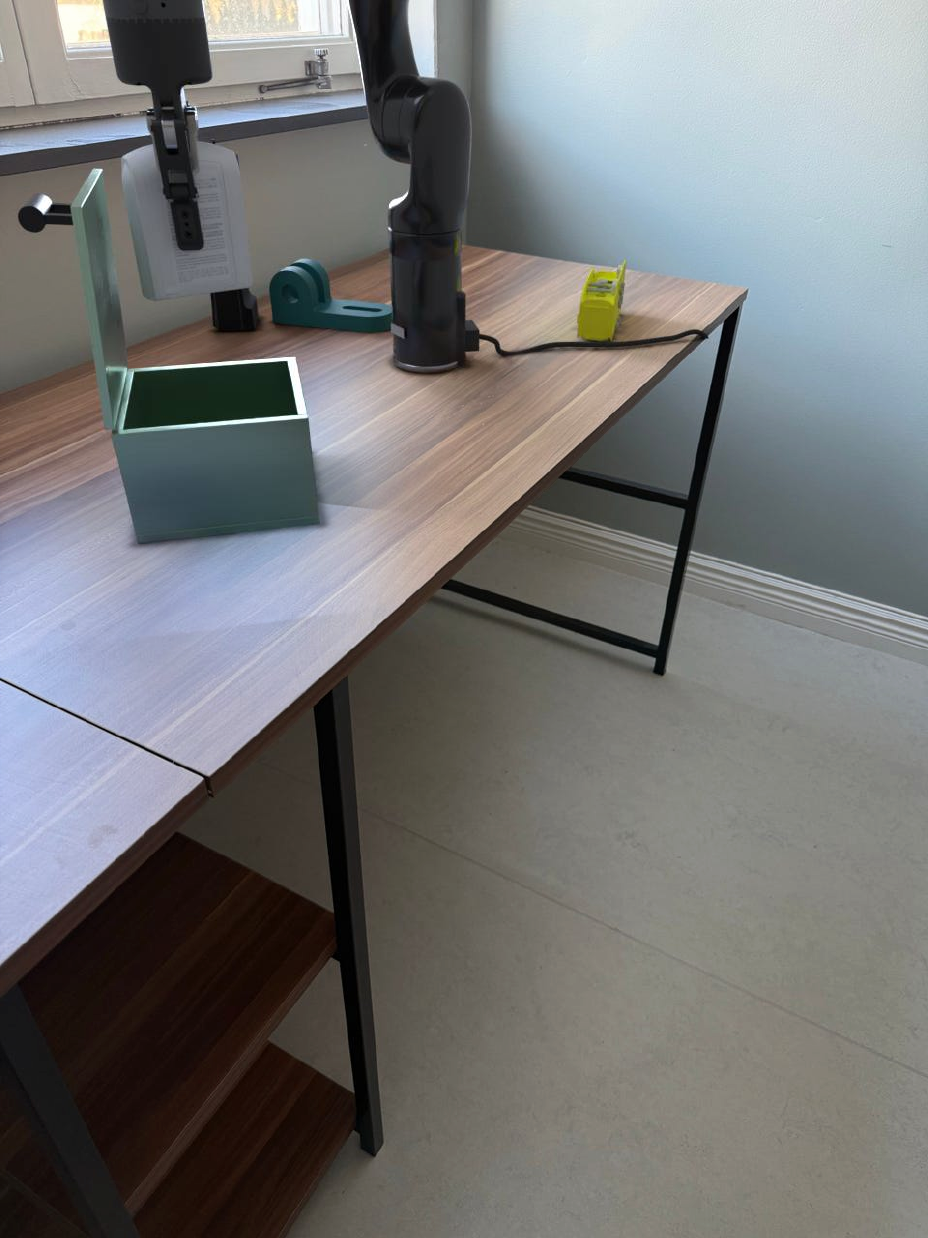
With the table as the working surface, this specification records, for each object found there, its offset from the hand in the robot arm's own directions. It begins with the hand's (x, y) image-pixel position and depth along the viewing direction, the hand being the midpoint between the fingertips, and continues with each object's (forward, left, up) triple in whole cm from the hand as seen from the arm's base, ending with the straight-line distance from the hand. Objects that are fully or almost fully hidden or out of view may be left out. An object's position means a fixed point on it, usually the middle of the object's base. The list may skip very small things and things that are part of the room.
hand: (192, 240), depth 79 cm
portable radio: (-2, -51, -24) cm, 56 cm away
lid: (+8, +4, -3) cm, 9 cm away
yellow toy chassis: (-55, -38, -24) cm, 71 cm away
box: (0, +4, -23) cm, 24 cm away
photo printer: (0, 0, -5) cm, 5 cm away
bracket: (-17, -49, -24) cm, 57 cm away
